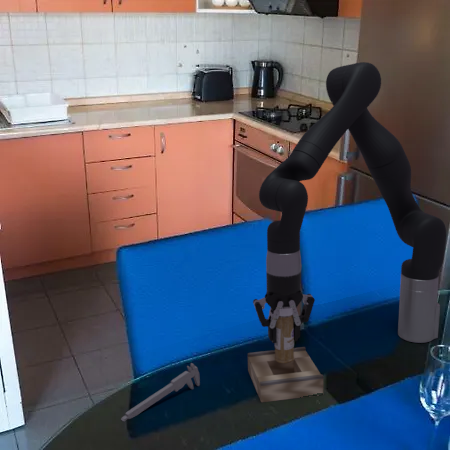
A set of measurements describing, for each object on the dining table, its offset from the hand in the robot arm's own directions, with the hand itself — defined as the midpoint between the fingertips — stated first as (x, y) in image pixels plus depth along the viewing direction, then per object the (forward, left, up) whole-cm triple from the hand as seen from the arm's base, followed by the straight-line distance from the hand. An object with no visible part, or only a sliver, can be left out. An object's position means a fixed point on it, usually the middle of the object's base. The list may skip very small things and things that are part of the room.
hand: (284, 340), depth 133 cm
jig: (0, 0, -11) cm, 11 cm away
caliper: (+28, +2, -11) cm, 30 cm away
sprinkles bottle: (0, 0, -5) cm, 5 cm away
